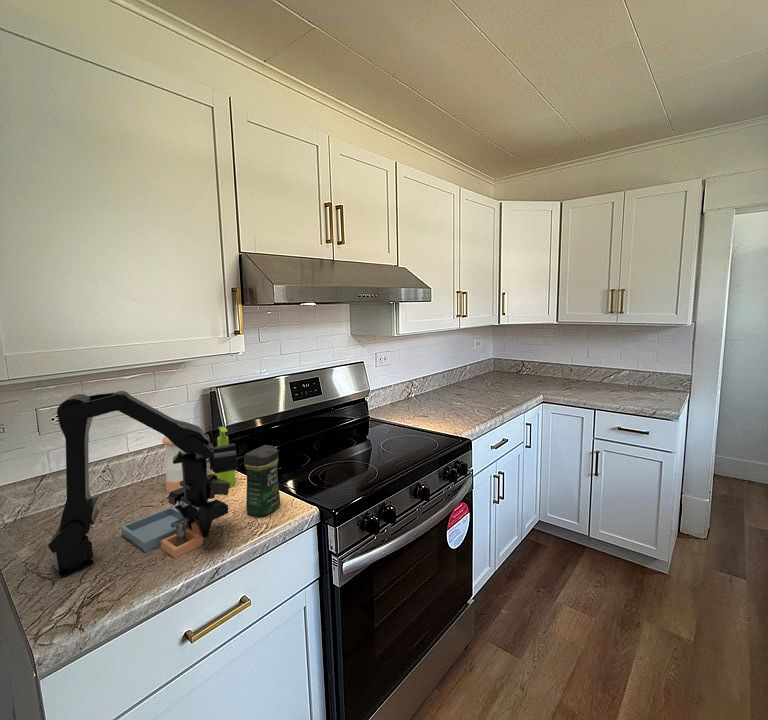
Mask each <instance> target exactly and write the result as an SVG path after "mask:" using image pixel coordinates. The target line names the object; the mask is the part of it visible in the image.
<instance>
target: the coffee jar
mask: <svg viewBox="0 0 768 720" xmlns="http://www.w3.org/2000/svg"><path fill="white" fill-rule="evenodd" d="M278 453H279V451H278V449H277V447H276V446H274V445H268V444H264V445H261V446H260V447H258V448H255V449H252V450H251V451H249V452H247V453H245V454H244V460H243V462H244V468H245V472H246V504H245V505H246V506H245V507H246V512H247V514H250V516H254V517H261V516H263V517H264V516H267V515H269V514H271V513H272V512H274V511H276V510H277V509H278V508H279V507H280V505H281V494H280V487H279V486H280V485H279V479H278V478H279V477H278V463H279V454H278Z"/></svg>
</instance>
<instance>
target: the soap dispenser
mask: <svg viewBox="0 0 768 720" xmlns="http://www.w3.org/2000/svg"><path fill="white" fill-rule="evenodd" d="M218 430H219V436H218V437H216V438H217V439H216V440H217V445H216V447H218V446H225V445H229V444H230V442H229V436H228V435H226V433H228V432H229V431H228V428H227V427H226V426H218ZM235 471H236V470H233V471H227V472H221V473H215V475H216V476H217V479H221V480H224V481H227V482H229V483H230V487H231V488H233V487H235V486H234V485H236V472H235ZM230 487H229V489H230Z"/></svg>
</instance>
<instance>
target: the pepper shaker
mask: <svg viewBox="0 0 768 720" xmlns="http://www.w3.org/2000/svg"><path fill="white" fill-rule="evenodd" d="M161 442H162V444H163V446H165V456H166V459H165V476H166V478H165V490H167V491H166V492H168V491H169V492H168V493H171V491H174V490H177V489H180V488H182V486H180V481H183V475H182V463H177V464H173V458H174V457H175V456H176V455H177V454H178V452H179V451H181V452H183V451H182V450H181V449H179V448H178V447H177V446H175V445H174V444H173V443H172V442H171V441H170V440H169V439H168V438H167V437H166V436H165V435H163V438H162V440H161ZM183 453H185V452H183Z"/></svg>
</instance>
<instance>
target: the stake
mask: <svg viewBox="0 0 768 720" xmlns="http://www.w3.org/2000/svg"><path fill="white" fill-rule="evenodd" d="M188 521H189V518H188V517H185V518H182V519H180V520H178V521H175V522H173V523H171V527H173V528H174V527H176V533H177V543H176V544H177V547H178V546H180V545H182V544H184V543H186V542H187V539H186V532H185V523H186V522H188Z"/></svg>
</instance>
